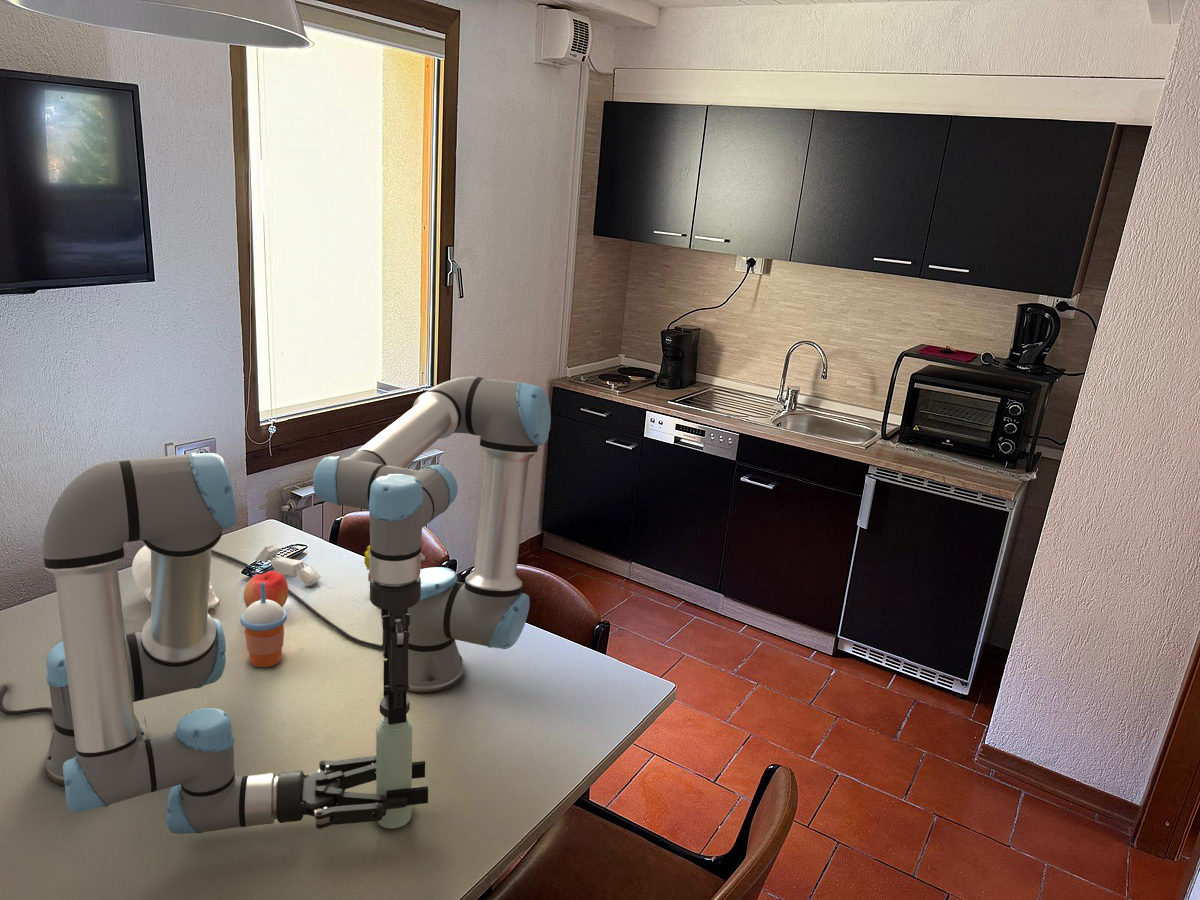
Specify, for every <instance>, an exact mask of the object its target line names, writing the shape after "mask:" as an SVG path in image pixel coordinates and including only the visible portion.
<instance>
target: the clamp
mask: <svg viewBox="0 0 1200 900" xmlns="http://www.w3.org/2000/svg"><path fill="white" fill-rule="evenodd" d="M280 549H281V547H279V546H278V545H277V544H272V545H266V546H264V547H263V549H262V550H261V551H260V552H259V554H258V555H257V556H256V557H255V559H254V562H255V563H256V561H259V560H262V561H268V560H271V562H270V563H269V564H271V565H272V566H273V568H274V571H275V572H278V573H281V574H282V575H283V576H288V577H292V578H296V577H298V578H299V579H300V580H301V582H303V584H304V585H305V587H309V586H312V585H314V584H316V583H318V582H319V580H320V579H321V578H322V577H321V575H320V574H319V573H318V572H317V570H315V569H314V568H313V566H312V565H310V564H309V565H308V564H307V563H305V562H304V561H303V560H301V559H300V560H299V559H292V558H289V557H285V556H278V553H279V551H280ZM273 558H274V559H273ZM272 559H273V560H272ZM305 566H306V567H305ZM270 571H271V570H270Z"/></svg>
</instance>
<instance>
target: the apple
mask: <svg viewBox="0 0 1200 900" xmlns="http://www.w3.org/2000/svg"><path fill="white" fill-rule="evenodd" d="M260 583H265V599H266V600H272V601H275V602H276V603H278V604H279V605H280V606H281V607H282V608H283V607H284V606H285V605H286V603H287V600H288V597H289V593H288V589H289V584H288V581H287V579H286V577H285V575H282V574H281V573H278V572H275V571H268V570H267V571H266V572H263V574H259V573H257V574H255V575H254V576H253V577H251V578H250V579H249V580H248V582H247V583H246V585H245V587H244V590H243V601H244V604H245V607H247V608H248V607H249V606H250V605H251V604H252V603H254V602H256V601H259V600H261V589H260Z"/></svg>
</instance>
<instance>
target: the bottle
mask: <svg viewBox="0 0 1200 900" xmlns="http://www.w3.org/2000/svg"><path fill="white" fill-rule="evenodd" d="M413 728H414V727H413V723H412V721H411V720H410V718H409V716H408V715H406V722H405V723H397V724H389V725H388V718H387V717H385V716H383V715H382V717H381V718H380V720H379V722H378V723H377V726H376V731H375V736H376V737H375V742H376V743H375V745H376V746H375V749H376V750H375V752H376V753H375V756H376V772H375V773H376V780H375V781H376V782H375V785H376V786H375V788H376V789H375V794H378V795H385V796H386V791H388V790H398V789H407V788H413V785H412V784H413V779H412V762H413ZM376 803H377V802H376ZM411 818H412V805H408V806H406V807H404V808H395V809H387V810H386V815H385V816H383V817H382V819H381V820H380V821H376V823H377V824H378V825H379V826H380V827H382V828H385V829H389V830H390V829H398V828H401V827H403V826H405V825H406V824H408V823H409V822H410V820H411Z"/></svg>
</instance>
